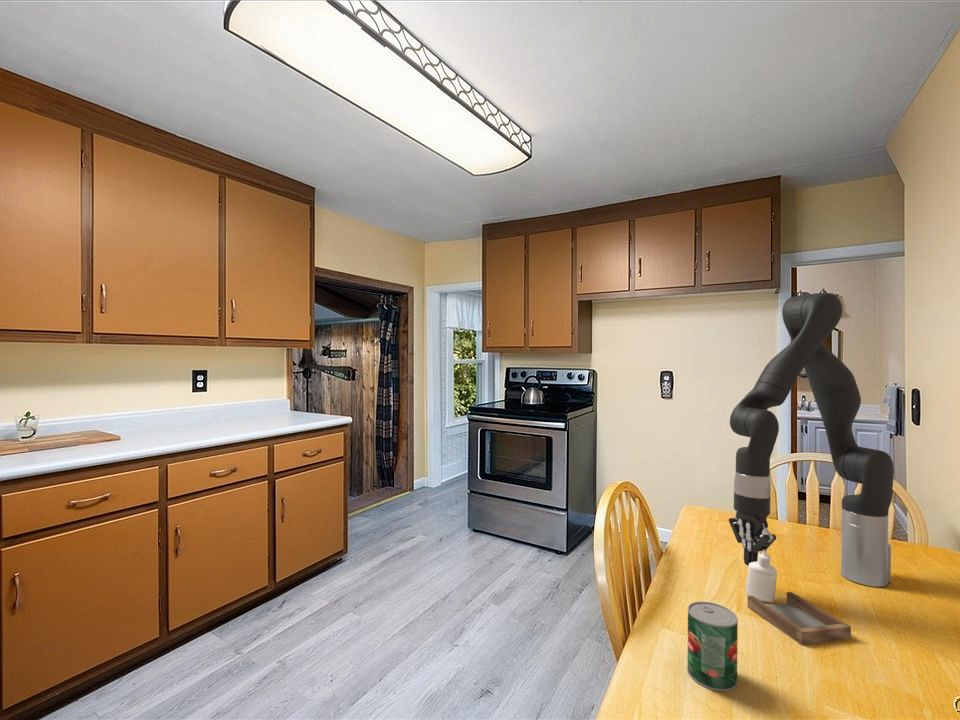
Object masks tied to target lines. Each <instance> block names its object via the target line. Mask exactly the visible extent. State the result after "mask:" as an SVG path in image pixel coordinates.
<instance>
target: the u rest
mask: <svg viewBox="0 0 960 720" xmlns="http://www.w3.org/2000/svg"><path fill="white" fill-rule="evenodd" d="M747 609H749V610H751V611H753V612H754V613H755V614H756V615H758V616H759V617H761V618H762V619H764V620H765V621H766V622H768V623H769V624H771V626H772V625H773V627H775V628H776V629H778V630H779V631H781V632H783V633H784V634H785V635H787V637H789V638H791V639H792V640H794V641H795V642H797V643H798V644H800V645H801V646H805V645H806V646H807V645H814V644H822V643H831V642H839V641H846V640H848V641H849V640H851V639H852V627H851V625H849V624H847V623H846V622H844V621H842V620H841V619H839V618H837V617H835V616H834V615H832V614H830V613H828V612H827V611H825V610H823V609H822V608H820V607H819V606H816V605H814V604H813V603H811V602H809V601H808V600H807V599H804V598H803V597H801V596H799V595H798V594H796V593H794V592H792V591H787V592H786V602H785V603H776V604H766V603H765V602H762V601H760V600H758V599H757V598H755V597H754V596H747Z"/></svg>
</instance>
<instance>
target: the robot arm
mask: <svg viewBox="0 0 960 720" xmlns="http://www.w3.org/2000/svg"><path fill="white" fill-rule="evenodd" d="M781 313H782V320H783V324H784V326H785V329H786V331H787V333H788V335H789V337H790V339H791V342H790V343H789V344H788V345H787V346H785V347H784V348H783V349H782V350H781V351H779V352H778V353H777V354H776V355H775V356H774V357H773V358H771V359H770V360H769V362H768V363H767V364H766V365H765V367H763V370H762V371H761V373H760V375H759V377H758V379H757V380H756V382H755V385H754V387H753V388H752V389H751V390H750V391H749V392H747V394H746V395H745V396H744V397H743V398H742V399H741V400H740V401H739V402H738V403H737V404H736V406H734V409H733V410H732V412H731V414H730V416H729V417H730V418H729V426H730V428H731V431H732V432H734V434H737V435H738V436H742V437H747V438H750V439H749V442H748V445H747V446H742V447H739V448H738V449H737V450H736V452H735V453H736V454H735V474H734V480H733V485H734V486H733V510H734V511H736V513H735V516H733V517H732V518H731V517H730V518H728V523H729V525H730V527H731V531H732V532H733V534H734V537H735V539H736V542H737V544H741V547H742V548H743V562H744V564H745V566H747V567H749V563H751V562H757V560H758V554H759V553H760V552H762V551H763V549H765V550H768V549H769V548H770V546H771V545H772V544H774V542H775V541H776V540H777V535H776V534H774V533H771V532H770V530H769V529H768V528H769V524H768V521H767V518H768V517H769V516H770V514H771V494H772V493H771V492H772V491H771V487H772V485H771V477H770V474H771V473H770V471H771V469H770V468H771V457H772V454H773V451H774V448H775V444H776V442H777V439H778V435H779V430H780V424H779V420H778V418H777V416H776V415H775V414H774V413H773V412H772V411H771V410H768V409H771V408H773V407H779V406H781V405H783V403H785V401H786V399H787V397H789V396H788V395H789V394H790V392H791V390H792V389H793V386H794V384H796V380H797V379H798V378H799V375H800V374H801V372H802V371H803V369H804V372H805V374H806V376H807V380H808V382H809V386H810V389H811V392H812V395H813V399H814V401H815V404H816V407H817V408H818V410H819V415H820V418H821V420H822V423H823V427H824V430H825V433H826V438H827V441H828V446H829V451H830V452H829V453H830V457H831V461H832V463H833V467H834V470H835V471H836V473H837V474H838V476H839V477H841V479H844V480H845V481H849V482H852V483H857V484H860V485H861V490H860V493H859V494H847V495H844V496H842V498H841V541H840V543H841V547H840V550H841V551H840V553H841V556H840V574H841V576H842V577H843V578H845V579H846V580H849V581H850V582H851V581H852V582H854V583H856V584H860V585H862V586H863V585H864V586H868V587H874V588H875V587H877V588H879V587H880V588H881V587H882V588H883V587H887V586H888V585H889V583H888V582H890V583H891V580H892V579H891V578H892V577H891V575H892V572H891V571H892V545H891V544H890V543H889V509H890V506H891V505H892V500H893V486H894V477H895V476H894V475H895V468H894V467H895V466H894V462H893V459H892V457H891V456H890V454H889V453H887V452H885V451H884V450H880V449H874V448H869V447H863V446H859V445H858V444H857V442H856V440H855V436H854V432H853V423H854V421H855V418H856V416H857V415H858V412H859V410H860V406H861V404H862V397H861V392H860V391H859V387H858V384H857V382H856V378H855V375H854V373H852V371H851V370H850V368H849V367H848V366H847V365H846V364H845V363H844V362H842V360H841V359H839V358H838V357H837V356H836V355H835V354H834V353H833V352H832V351H831V350H830V349H829V348H828V347H827V346H826V344H825V343H824V342H825V341H826V340H827V339H828V337H829V336H830V335H831V334H832V333H833V331H834V330H835V329H836V327H837V325H838V324H839V322H840V320H841V318H842V315H843V304H842V302H841V300H840V298H839V297H838V296H837V295H835V294H834V293H831V292H817V293H808V294H803V295H795V296H790V298H788V299H787V300H785V302H784V304H783V306H782V308H781ZM886 585H887V586H886Z"/></svg>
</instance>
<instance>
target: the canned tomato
mask: <svg viewBox="0 0 960 720" xmlns="http://www.w3.org/2000/svg"><path fill="white" fill-rule="evenodd" d="M738 622H739V619H738V616H737V614H736V613H735V612H734V611H732V610H731V609H729V608H728V607H726V606H724V605H721V604H718V603H714V602H709V601H695V602H691V603H690V604H689V605H688V607H687V666H686V667H687V668H686V670H687V673H688V675H689V676H690V678H691V679H692V680H693V681H694V682H695V683H697V684H698V685H700V686H702V687H704V688H705V689H709V690H712V691H716V692H731V691H733V690H735V689H736V688H737V686H738V643H739V642H738V624H739V623H738Z"/></svg>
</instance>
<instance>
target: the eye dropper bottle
mask: <svg viewBox="0 0 960 720" xmlns="http://www.w3.org/2000/svg"><path fill="white" fill-rule="evenodd" d="M767 550H768V549H767ZM767 550H765V549H763V551H761V552H758V560H757V562H751V563H749V566H747V567H748V569H747V577H746V583H745V584H746V585H745V595H746V596H747V597H748V596H754V597H755V598H757V599H758V600H760V601H761V602H763V603H774V601H775V595H776V586H777V577H778V573H777V569H776V568H775V566H773V565H771V556H770V555H769V554H768V551H767Z"/></svg>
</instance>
